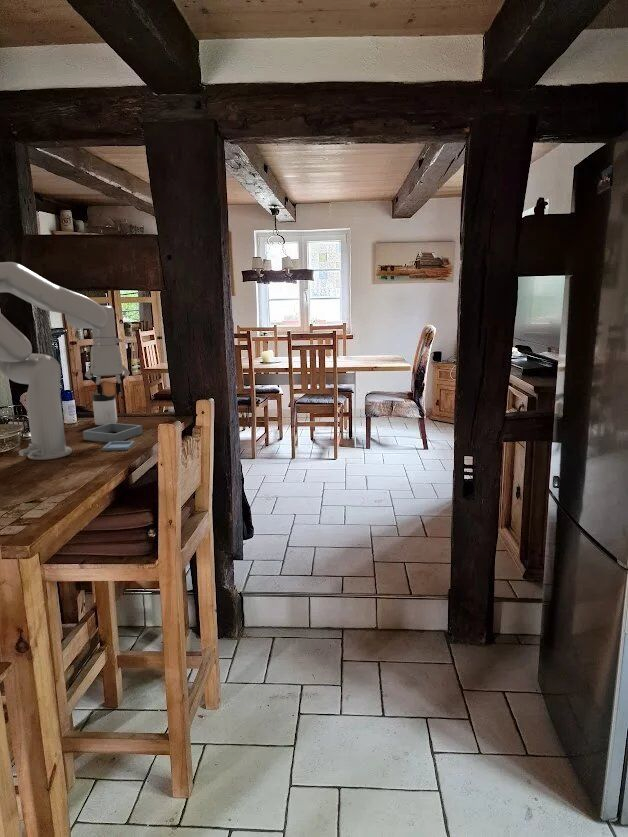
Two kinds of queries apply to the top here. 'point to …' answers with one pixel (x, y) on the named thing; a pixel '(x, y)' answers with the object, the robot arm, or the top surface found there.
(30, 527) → the top surface
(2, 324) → the robot arm
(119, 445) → the coaster
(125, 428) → the grey square tray
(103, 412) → the jar
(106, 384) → the ball
